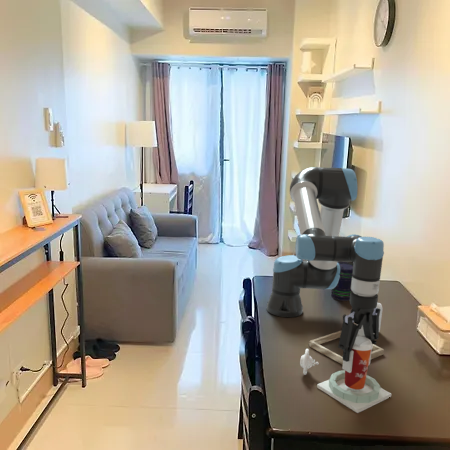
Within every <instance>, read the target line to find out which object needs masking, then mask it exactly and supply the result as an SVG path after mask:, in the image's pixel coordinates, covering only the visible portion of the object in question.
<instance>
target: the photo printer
mask: <svg viewBox="0 0 450 450" xmlns="http://www.w3.org/2000/svg"><path fill="white" fill-rule="evenodd" d="M376 308H379V309H380V314H379V333H380V332H381V331H380V330H381V325H382V324H381V323H382V317H383V316H382V315H383V310H384V308H383V305H382V303H380V302H377V307H376ZM373 334H375V333H373ZM357 335H359V336H363V337H365V335H364V330H363V325H362V328H361V329H359V331H358V334H357Z"/></svg>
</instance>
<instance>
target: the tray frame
mask: <svg viewBox="0 0 450 450" xmlns="http://www.w3.org/2000/svg"><path fill="white" fill-rule="evenodd" d="M340 335H341V330H338V331H336V332H333V333H330V334H326V335H323V336H319V337H318V338H315V339H311V340H309V341H308V347H309V348H311V349H314V350H316V351H317V352H318V353H321V354H322V355H325V356H326V357H327V358H330V359H331V360H333V361H335V362H337V363H339V364H340V365H342V366H343V355H342V356H341V355H340V354H338V353H336V352H334V351H333V350H330V349H329V348H326V347H325V346H323V345H321V344H325V343H328V342H331V341H334V340H336V339H337V340H338V339H340ZM384 350H385V349H384V348H382V347H380V346H378V345H376V344H373V348H372V352H371V360H373V359H376V358H379V357H381V356H382V355H384Z"/></svg>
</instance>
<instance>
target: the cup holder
mask: <svg viewBox="0 0 450 450" xmlns="http://www.w3.org/2000/svg"><path fill="white" fill-rule="evenodd" d="M316 387H317V389H319V390H321V391H322V392H323V393H324V394H327V395H329V397H331V398H333V399H334V400H336V401H338V402H339V403H340V404H342V405H344V406H345V407H347V408H348V409H350V410H351V411H353V412H355V413H357V414H359V413H362V412H363V411H365V410H367V409H369V408H371V407H373V406H376V405H378V404H379V403H381V402H384V401H385V400H387V399H389V397H390V398H391V397H392V393H391V392H389V391H387V390H385V389H384V388H382V387H381V385H380V384H379V382H378V381H377V380H376V379H375V378H373V377H372V376H369V375H368V374H367V375H366V380H365V385H364V388H363V389H359V390H356V389H351V388H349V387H347V386H346V385H345V370H344V369H342V370H338V371H335V372H333V373H331V375H330V377H329V379H327V380H324V381H322V382H320V383H317V385H316Z"/></svg>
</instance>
